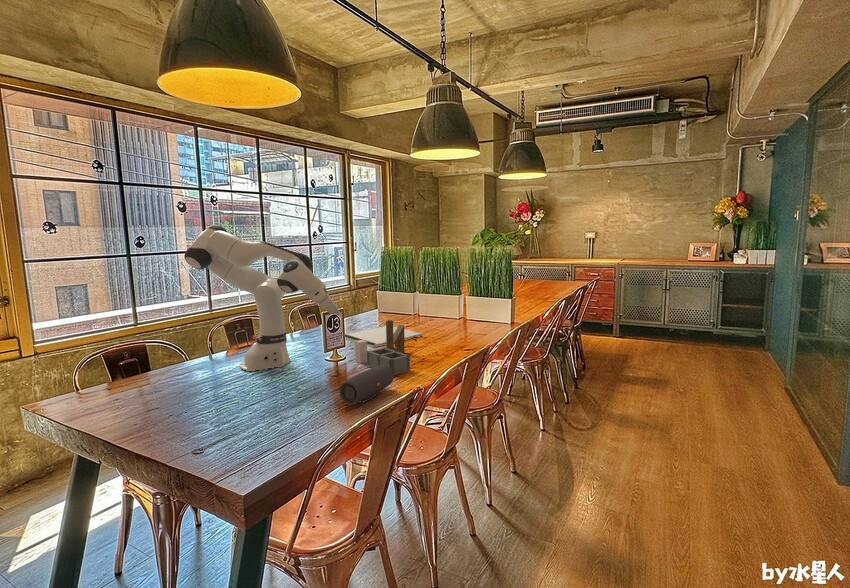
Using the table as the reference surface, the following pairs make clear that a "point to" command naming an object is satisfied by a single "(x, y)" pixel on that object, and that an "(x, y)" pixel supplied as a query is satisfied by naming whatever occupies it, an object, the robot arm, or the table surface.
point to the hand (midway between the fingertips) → (336, 309)
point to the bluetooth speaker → (366, 384)
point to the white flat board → (377, 336)
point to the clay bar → (361, 351)
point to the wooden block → (394, 337)
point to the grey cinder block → (389, 360)
